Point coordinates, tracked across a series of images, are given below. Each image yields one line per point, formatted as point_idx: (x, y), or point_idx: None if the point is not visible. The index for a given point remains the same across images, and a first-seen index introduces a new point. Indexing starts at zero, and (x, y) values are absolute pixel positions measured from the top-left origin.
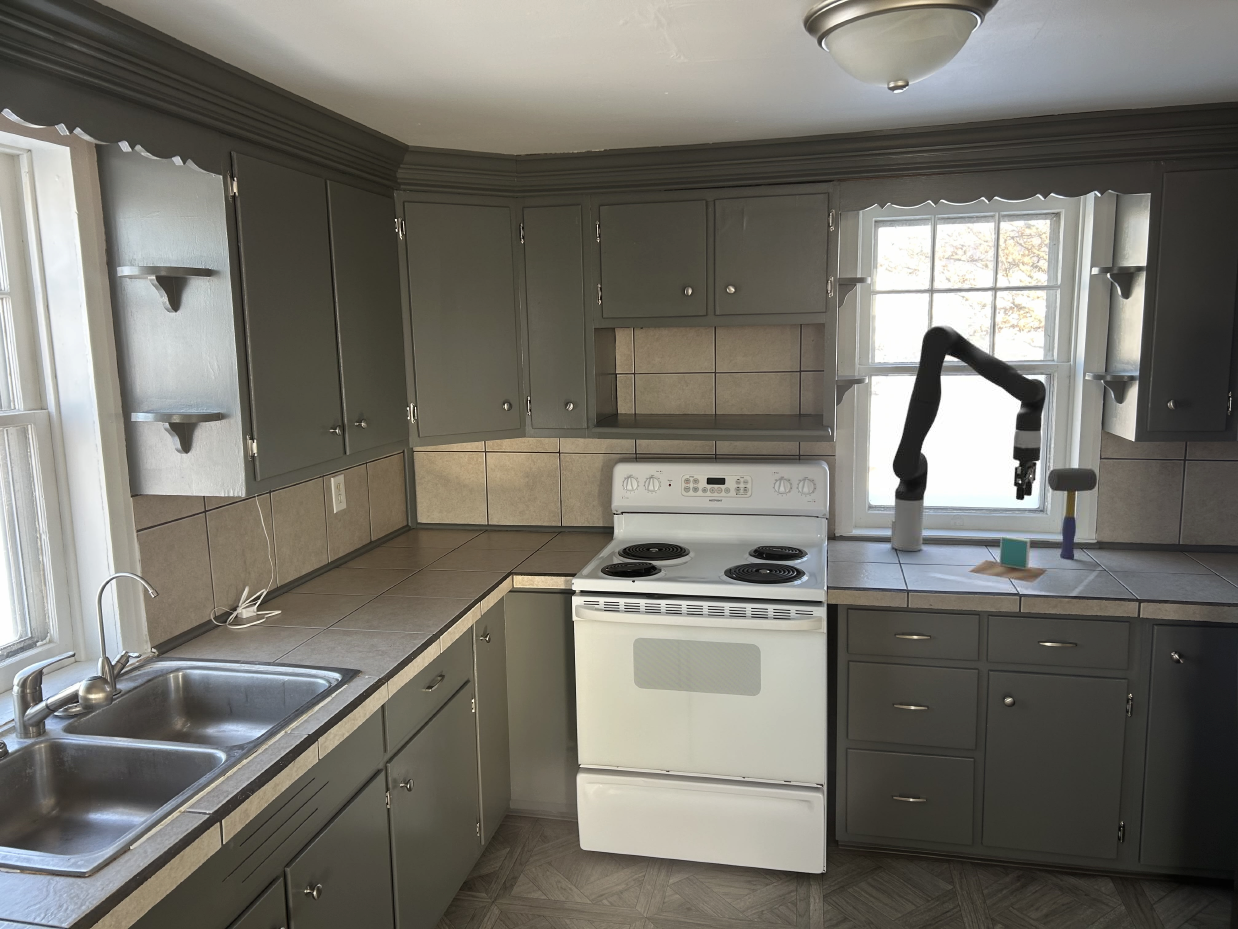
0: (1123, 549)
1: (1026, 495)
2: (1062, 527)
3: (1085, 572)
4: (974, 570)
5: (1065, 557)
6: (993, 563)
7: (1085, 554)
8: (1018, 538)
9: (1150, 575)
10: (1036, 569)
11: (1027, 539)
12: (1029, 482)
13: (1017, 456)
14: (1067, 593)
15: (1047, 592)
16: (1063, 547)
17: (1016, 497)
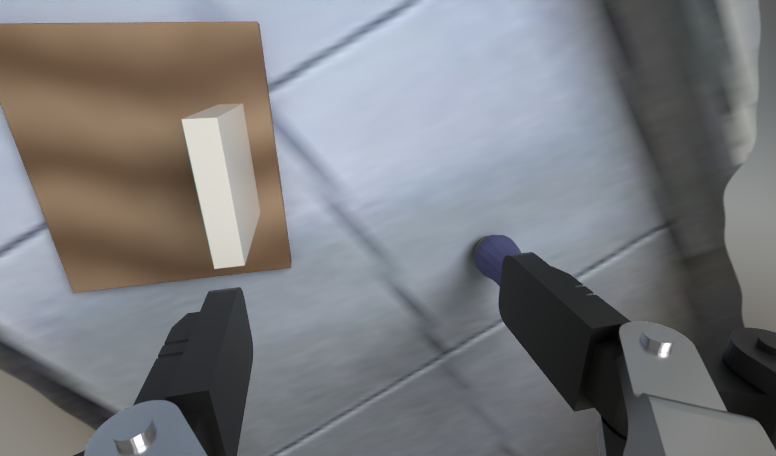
0: (692, 307)
1: (501, 278)
2: None
3: (388, 329)
4: (21, 42)
5: (475, 258)
6: (224, 73)
7: (598, 257)
8: (219, 214)
9: (458, 431)
10: (265, 238)
11: (233, 256)
12: (604, 403)
13: None
14: (105, 380)
15: (56, 342)
16: (498, 263)
17: (207, 303)
